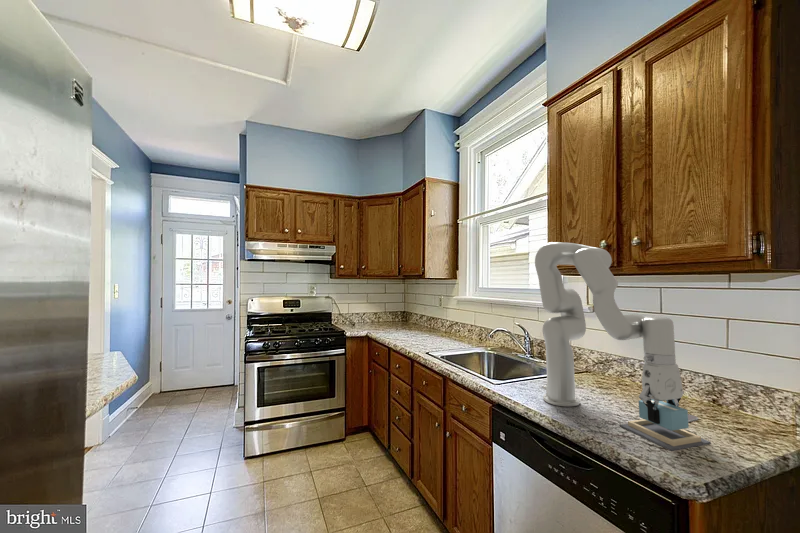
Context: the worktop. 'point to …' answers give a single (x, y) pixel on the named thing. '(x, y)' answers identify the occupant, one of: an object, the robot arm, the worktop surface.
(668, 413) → the card box
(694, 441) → the mat
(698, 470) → the worktop surface
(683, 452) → the worktop surface
